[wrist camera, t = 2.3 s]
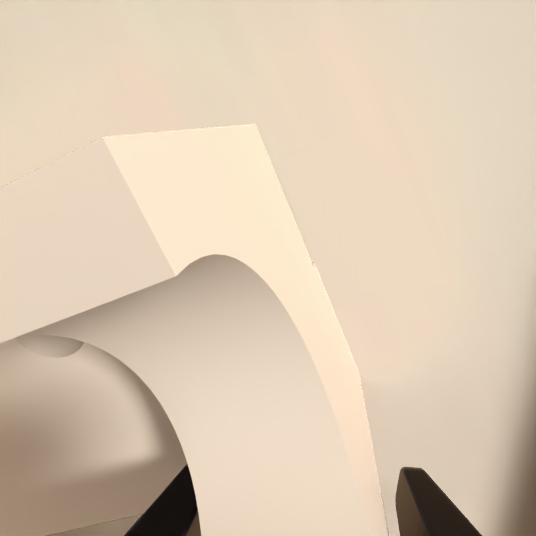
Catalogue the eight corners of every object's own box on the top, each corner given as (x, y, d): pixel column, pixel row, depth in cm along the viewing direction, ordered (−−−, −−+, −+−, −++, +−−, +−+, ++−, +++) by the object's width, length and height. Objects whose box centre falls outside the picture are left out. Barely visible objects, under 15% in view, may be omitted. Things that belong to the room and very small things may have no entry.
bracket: (260, 123, 9) (102, 135, 2) (357, 362, 11) (429, 757, 4) (-115, 295, 12) (-681, 529, 5) (14, 460, 14) (-271, 786, 7)
